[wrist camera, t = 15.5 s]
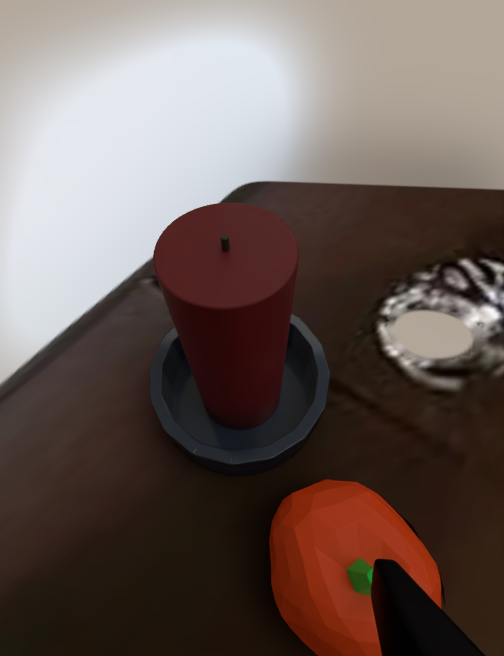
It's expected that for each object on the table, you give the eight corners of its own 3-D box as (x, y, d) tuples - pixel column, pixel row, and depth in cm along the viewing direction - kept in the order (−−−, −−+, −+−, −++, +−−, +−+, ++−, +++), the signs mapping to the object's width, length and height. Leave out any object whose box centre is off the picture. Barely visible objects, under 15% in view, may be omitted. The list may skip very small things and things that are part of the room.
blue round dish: (353, 418, 23) (366, 398, 20) (207, 512, 20) (198, 504, 17) (266, 306, 28) (267, 276, 25) (140, 368, 25) (124, 344, 22)
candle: (295, 384, 24) (329, 225, 12) (248, 447, 22) (236, 325, 10) (235, 343, 26) (216, 172, 14) (185, 398, 23) (115, 247, 12)
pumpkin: (315, 459, 22) (334, 427, 16) (438, 564, 19) (510, 567, 13) (235, 564, 19) (225, 567, 14) (364, 706, 16) (418, 784, 11)
